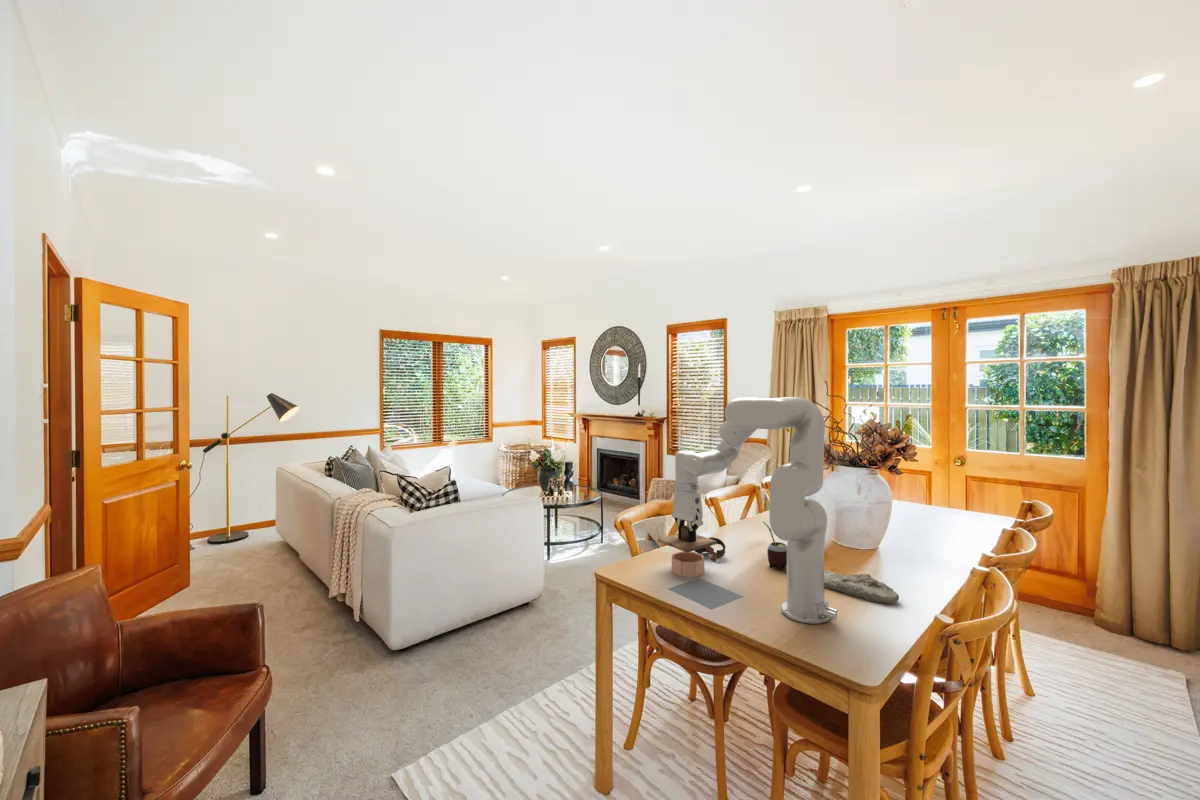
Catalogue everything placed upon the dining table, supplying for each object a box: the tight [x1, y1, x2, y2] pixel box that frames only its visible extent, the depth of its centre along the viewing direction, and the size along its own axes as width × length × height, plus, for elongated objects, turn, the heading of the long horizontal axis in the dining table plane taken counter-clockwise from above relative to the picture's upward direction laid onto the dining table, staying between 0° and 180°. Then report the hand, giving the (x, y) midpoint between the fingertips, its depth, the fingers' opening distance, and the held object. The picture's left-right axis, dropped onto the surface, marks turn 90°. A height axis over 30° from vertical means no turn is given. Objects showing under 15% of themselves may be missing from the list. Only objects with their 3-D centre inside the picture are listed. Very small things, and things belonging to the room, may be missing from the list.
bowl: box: [671, 551, 705, 578], centre depth 169 cm, size 11×11×5 cm
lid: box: [657, 524, 718, 553], centre depth 169 cm, size 14×14×5 cm
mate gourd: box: [762, 521, 787, 571], centre depth 172 cm, size 8×8×15 cm
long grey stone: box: [784, 565, 900, 605], centre depth 155 cm, size 35×5×10 cm
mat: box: [667, 577, 744, 610], centre depth 151 cm, size 18×14×1 cm
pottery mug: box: [693, 536, 726, 562], centre depth 183 cm, size 12×10×8 cm
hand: (687, 539), depth 169 cm, fingers closed on lid, 4 cm apart
